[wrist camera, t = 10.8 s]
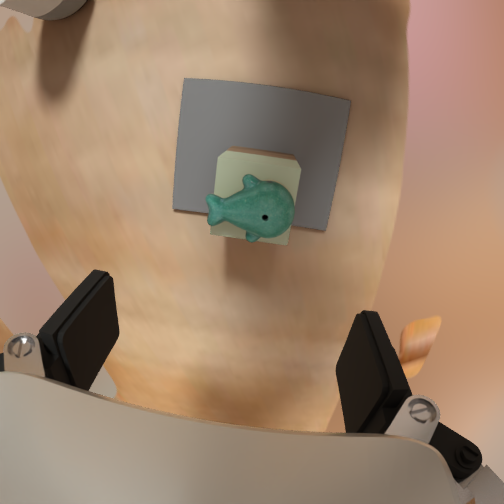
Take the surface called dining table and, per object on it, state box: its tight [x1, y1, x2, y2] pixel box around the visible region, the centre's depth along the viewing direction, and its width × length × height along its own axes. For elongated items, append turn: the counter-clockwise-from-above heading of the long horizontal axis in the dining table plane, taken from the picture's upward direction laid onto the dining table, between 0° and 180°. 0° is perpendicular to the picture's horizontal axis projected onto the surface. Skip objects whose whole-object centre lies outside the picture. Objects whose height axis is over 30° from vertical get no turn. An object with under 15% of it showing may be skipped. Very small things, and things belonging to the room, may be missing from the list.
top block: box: [210, 151, 301, 246], centre depth 29 cm, size 7×7×5 cm
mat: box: [172, 78, 351, 231], centre depth 35 cm, size 16×19×1 cm
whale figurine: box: [205, 174, 295, 242], centre depth 25 cm, size 6×7×4 cm
